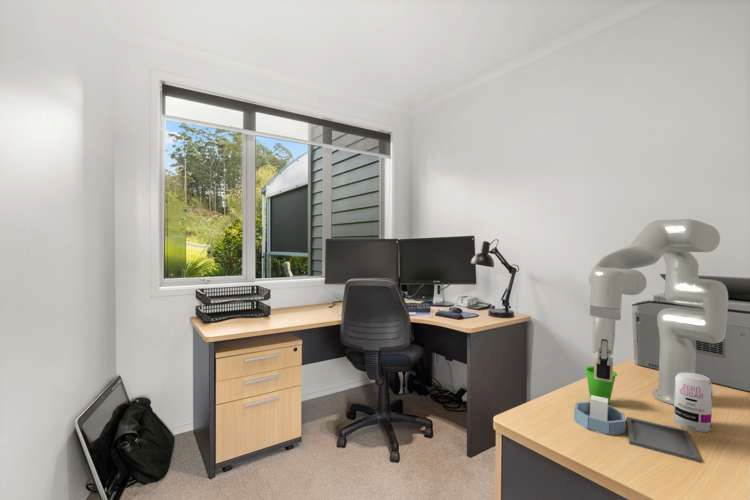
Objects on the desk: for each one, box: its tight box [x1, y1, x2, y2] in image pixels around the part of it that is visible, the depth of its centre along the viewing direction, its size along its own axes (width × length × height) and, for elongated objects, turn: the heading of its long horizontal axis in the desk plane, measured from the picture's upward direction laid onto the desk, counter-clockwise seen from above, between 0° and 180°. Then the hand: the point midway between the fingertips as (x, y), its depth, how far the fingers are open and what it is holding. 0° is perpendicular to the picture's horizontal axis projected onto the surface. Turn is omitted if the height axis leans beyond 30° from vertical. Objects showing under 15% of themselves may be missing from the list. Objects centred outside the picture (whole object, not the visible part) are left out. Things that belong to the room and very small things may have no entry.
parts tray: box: [626, 416, 701, 463], centre depth 97 cm, size 16×14×1 cm
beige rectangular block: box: [593, 354, 614, 382], centre depth 102 cm, size 4×4×6 cm
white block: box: [589, 395, 609, 421], centre depth 107 cm, size 4×4×6 cm
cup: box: [584, 365, 618, 406], centre depth 119 cm, size 9×9×11 cm
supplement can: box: [673, 372, 713, 433], centre depth 104 cm, size 8×8×15 cm
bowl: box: [573, 400, 626, 436], centre depth 104 cm, size 12×12×4 cm
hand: (602, 375), depth 102 cm, fingers closed on beige rectangular block, 3 cm apart
